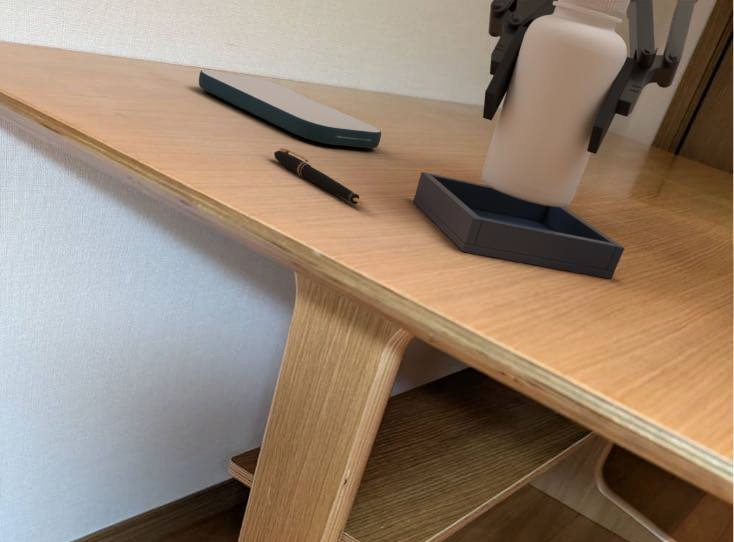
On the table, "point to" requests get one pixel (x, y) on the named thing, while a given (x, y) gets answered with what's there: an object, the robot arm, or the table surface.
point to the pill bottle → (555, 101)
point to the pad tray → (515, 227)
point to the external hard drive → (290, 110)
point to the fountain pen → (315, 175)
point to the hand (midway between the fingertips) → (541, 122)
